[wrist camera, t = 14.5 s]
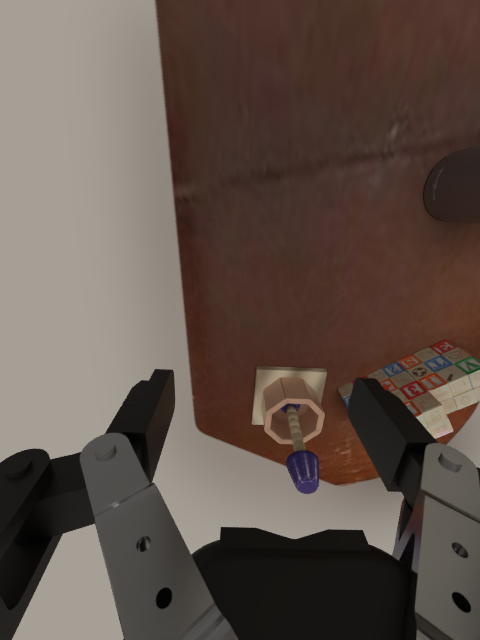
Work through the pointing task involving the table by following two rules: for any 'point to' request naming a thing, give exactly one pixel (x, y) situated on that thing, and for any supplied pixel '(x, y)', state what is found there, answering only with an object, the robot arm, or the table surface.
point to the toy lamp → (301, 456)
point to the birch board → (271, 374)
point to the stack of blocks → (431, 384)
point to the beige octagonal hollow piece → (295, 394)
